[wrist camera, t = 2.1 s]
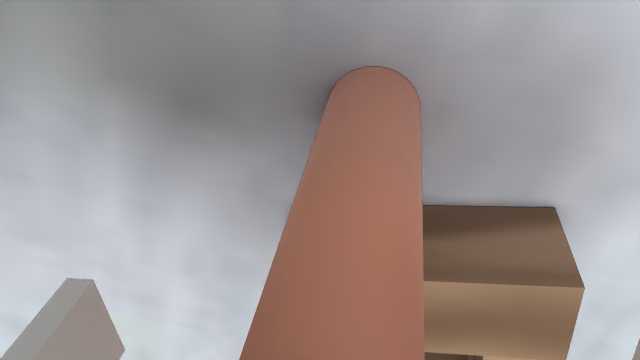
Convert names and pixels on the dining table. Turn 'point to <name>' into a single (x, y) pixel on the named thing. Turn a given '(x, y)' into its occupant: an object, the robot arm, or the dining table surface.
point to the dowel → (352, 234)
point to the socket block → (498, 284)
